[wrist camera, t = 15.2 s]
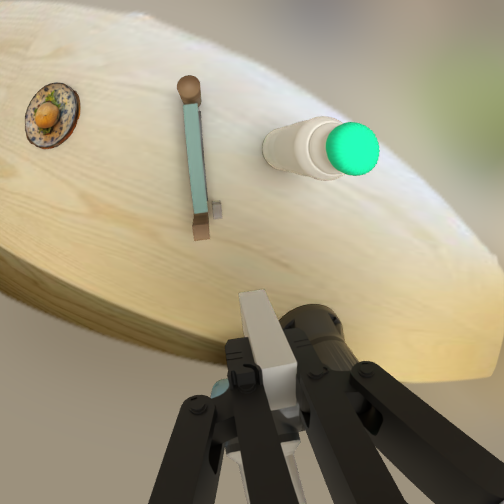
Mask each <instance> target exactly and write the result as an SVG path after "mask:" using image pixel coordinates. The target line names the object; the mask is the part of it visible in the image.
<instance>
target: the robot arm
mask: <svg viewBox="0 0 504 504" xmlns="http://www.w3.org/2000/svg"><path fill="white" fill-rule="evenodd" d="M239 301H240V309H241V317H242V325H243V332H244V336H245V337H244V338H237V339H230V340H228V341H227V343H226V345H225V352H226V359H227V366H228V375H227V376H228V378H227V379H222V380H219V381H218V382H216V383H215V385H214V386H213V389H212V393H211V398H210V397H208V396H205V395H195V396H192V397H189V398H188V399H186V400H185V401H184V402H183V404H182V406H181V408H180V411H179V414H178V417H177V420H176V423H175V426H174V429H173V432H172V434H171V437H170V441H169V443H168V446H167V449H166V452H165V455H164V458H163V461H162V464H161V467H160V470H159V473H158V476H157V479H156V482H155V485H154V488H153V491H152V494H151V497H150V500H149V503H148V504H214V503H215V498H216V492H217V487H218V481H219V476H220V471H221V465H222V460H223V454H224V448H225V449H226V454H227V457H229V458H230V459H232V460H233V461H235V462H236V463H237V464H238V465H239V469H240V474H241V478H242V483H243V487H244V492H245V496H246V500H247V504H307V503H306V499H305V495H304V491H303V488H302V484H301V480H300V476H299V472H298V469H297V465H296V461H295V457H294V452H295V450H296V449H297V447H298V445H299V444H300V442H301V441H300V437H299V433H298V432H300V431H304V430H306V433H307V435H308V438H309V441H310V443H311V446H312V448H313V451H314V454H315V456H316V459H317V461H318V464H319V467H320V469H321V472H322V474H323V477H324V479H325V482H326V485H327V487H328V490H329V492H330V495H331V497H332V500H333V502H334V504H408V503H407V502H406V501H405V500H404V498H403V496H402V494H401V492H400V491H399V489H398V487H397V485H396V483H395V482H394V480H393V478H392V476H391V474H390V472H389V471H388V469H387V467H386V465H385V463H384V462H383V460H382V458H381V456H380V455H379V453H378V451H377V449H379V451H380V452H381V453H382V454H383V455H384V456H386V457H387V459H389V460H390V461H391V462H392V463H393V464H394V465H395V466H396V467H397V468H398V469H399V470H400V471H401V472H402V473H403V474H404V475H405V476H406V477H407V478H408V479H409V480H410V481H411V482H412V483H413V484H414V485H415V486H416V487H417V488H419V489H420V490H421V491H422V492H423V493H424V494H425V495H426V496H427V497H428V498H429V499H430V500H431V501H433V502H434V503H435V504H504V463H503V462H502V461H500V460H499V459H498V458H496V457H495V456H494V455H492V454H491V453H490V452H489V451H487V450H486V449H485V448H483V447H482V446H481V445H479V444H478V443H477V442H476V441H474V440H473V439H472V438H470V437H469V436H468V435H466V434H465V433H464V432H463V431H461V430H460V429H459V428H457V427H456V426H455V425H454V424H452V423H451V422H449V421H448V420H447V419H446V418H445V417H443V416H442V415H441V414H439V413H438V412H437V411H436V410H434V409H433V408H432V407H431V406H429V405H428V404H427V403H425V402H424V401H423V400H421V399H420V398H419V397H418V396H417V395H415V394H414V393H412V392H411V391H410V390H409V389H408V388H406V387H405V386H404V385H403V384H401V383H400V382H399V381H398V380H396V379H395V378H394V377H392V376H391V375H390V374H389V373H387V372H386V371H385V370H384V369H382V368H381V367H380V366H379V365H377V364H375V363H374V362H370V361H361V362H359V361H358V360H357V358H356V357H355V355H354V354H353V353H352V351H351V350H350V348H349V347H348V346H347V344H346V343H345V339H344V333H343V328H342V324H341V322H340V320H339V318H338V317H337V315H336V314H335V313H334V312H333V311H332V310H331V309H330V308H328V307H326V306H323V305H318V304H310V305H304V306H301V307H298V308H296V309H294V310H292V311H290V312H289V313H287V314H286V315H285V316H284V317H282V318H281V320H280V321H278V319H277V317H276V314H275V312H274V310H273V308H272V305H271V303H270V301H269V299H268V296H267V294H266V292H265V290H264V289H261V290H254V291H248V292H241V293H239ZM374 445H375V446H374ZM376 448H377V449H376Z"/></svg>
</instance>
